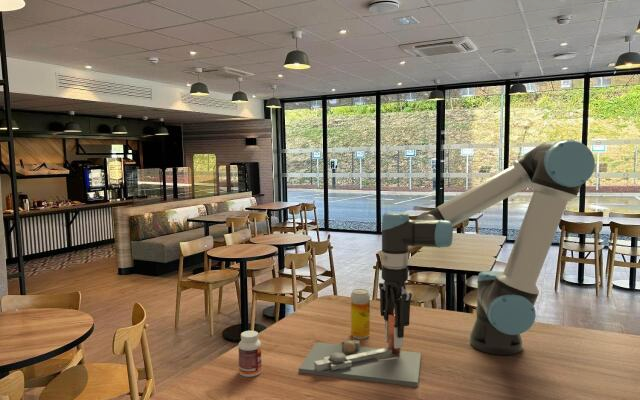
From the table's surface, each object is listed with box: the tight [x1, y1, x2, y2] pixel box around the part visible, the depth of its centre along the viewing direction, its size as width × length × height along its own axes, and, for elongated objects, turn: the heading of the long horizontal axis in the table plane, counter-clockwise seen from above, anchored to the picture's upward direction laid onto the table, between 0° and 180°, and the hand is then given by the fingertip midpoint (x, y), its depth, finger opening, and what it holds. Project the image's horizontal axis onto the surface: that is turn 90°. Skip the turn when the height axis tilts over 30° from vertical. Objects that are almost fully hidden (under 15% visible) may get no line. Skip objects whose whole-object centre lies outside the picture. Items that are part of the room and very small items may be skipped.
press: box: [298, 338, 422, 388], centre depth 133 cm, size 32×18×5 cm, turn 75°
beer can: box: [350, 288, 371, 340], centre depth 153 cm, size 6×6×15 cm
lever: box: [314, 312, 402, 371], centre depth 132 cm, size 27×6×12 cm, turn 114°
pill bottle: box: [237, 330, 263, 378], centre depth 129 cm, size 6×6×11 cm
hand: (394, 344), depth 137 cm, fingers closed on lever, 4 cm apart
